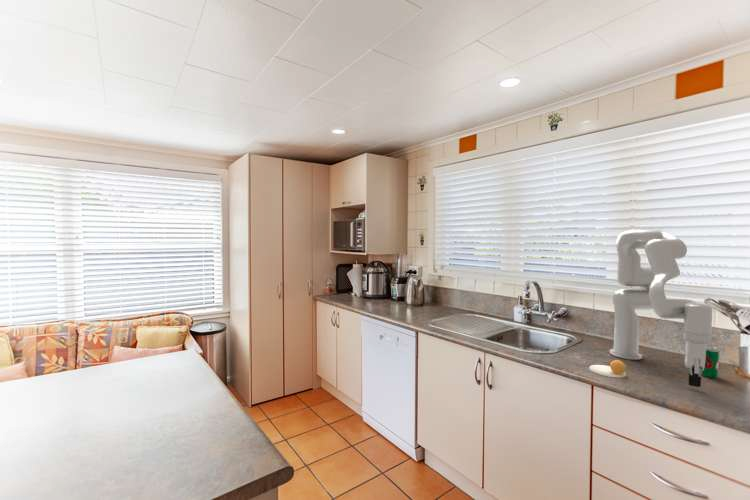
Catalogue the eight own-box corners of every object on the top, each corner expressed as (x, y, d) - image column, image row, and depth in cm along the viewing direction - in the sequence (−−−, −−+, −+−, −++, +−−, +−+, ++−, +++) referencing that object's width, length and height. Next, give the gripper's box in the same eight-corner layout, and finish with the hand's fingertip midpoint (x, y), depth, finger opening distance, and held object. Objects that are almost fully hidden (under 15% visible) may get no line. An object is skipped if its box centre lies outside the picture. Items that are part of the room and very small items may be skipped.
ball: (627, 362, 143) (623, 374, 144) (612, 356, 146) (608, 368, 147) (628, 365, 139) (624, 378, 139) (612, 359, 142) (608, 372, 142)
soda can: (719, 379, 137) (721, 350, 136) (702, 377, 140) (703, 347, 139) (715, 375, 141) (717, 346, 141) (699, 372, 144) (700, 344, 143)
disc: (591, 362, 155) (591, 362, 155) (627, 370, 146) (627, 369, 146) (587, 372, 144) (587, 371, 144) (625, 380, 136) (625, 379, 136)
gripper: (681, 330, 136) (679, 376, 137) (684, 340, 124) (682, 389, 125) (708, 334, 131) (705, 381, 132) (713, 344, 119) (711, 395, 120)
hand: (694, 385), depth 129 cm, fingers closed
